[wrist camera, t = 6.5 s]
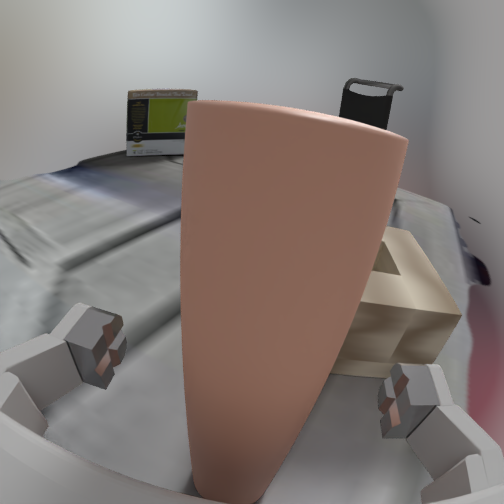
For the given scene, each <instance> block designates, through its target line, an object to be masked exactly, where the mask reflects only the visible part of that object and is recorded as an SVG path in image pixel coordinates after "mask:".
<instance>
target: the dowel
mask: <svg viewBox="0 0 504 504" xmlns="http://www.w3.org/2000/svg"><path fill="white" fill-rule="evenodd" d="M408 141H409V140H408V139H406V138H404V137H402V136H400V135H397V134H395V133H392V132H389V131H386V130H383V129H380V128H377V127H374V126H371V125H367V124H364V123H360V122H356V121H353V120H349V119H345V118H341V117H336V116H332V115H327V114H322V113H317V112H312V111H307V110H301V109H296V108H289V107H282V106H276V105H267V104H259V103H249V102H237V101H217V100H216V101H215V100H198V101H189V102H188V105H187V117H186V130H185V144H184V160H183V179H182V204H181V252H180V281H181V329H182V354H183V373H184V389H185V403H186V415H187V426H188V437H189V447H190V456H191V465H192V473H193V481H194V485H195V487H196V489H197V491H198V492H199V494H200V495H201V496H202V497H203V498H204V499H208V500H213V501H218V502H223V503H229V504H253V503H254V502H256V501H257V500H258V499H259V498H260V497H261V496H262V495H263V494H264V492H265V491H266V489H267V487H268V486H269V484H270V483H271V481H272V479H273V478H274V476H275V475H276V473H277V471H278V470H279V468H280V466H281V465H282V463H283V461H284V460H285V458H286V456H287V454H288V453H289V451H290V449H291V447H292V446H293V444H294V442H295V440H296V439H297V437H298V435H299V433H300V431H301V429H302V428H303V426H304V424H305V422H306V420H307V418H308V416H309V414H310V412H311V410H312V408H313V406H314V405H315V403H316V401H317V399H318V397H319V395H320V392H321V390H322V388H323V386H324V384H325V382H326V380H327V378H328V376H329V374H330V372H331V369H332V367H333V365H334V363H335V361H336V358H337V356H338V354H339V352H340V349H341V347H342V345H343V342H344V340H345V338H346V335H347V333H348V331H349V328H350V326H351V323H352V321H353V318H354V316H355V313H356V311H357V308H358V306H359V303H360V301H361V298H362V295H363V293H364V290H365V287H366V285H367V282H368V279H369V276H370V274H371V271H372V268H373V265H374V262H375V259H376V256H377V253H378V250H379V247H380V244H381V241H382V238H383V235H384V232H385V228H386V225H387V222H388V219H389V215H390V212H391V208H392V205H393V201H394V198H395V194H396V191H397V187H398V183H399V179H400V175H401V171H402V167H403V163H404V159H405V155H406V150H407V145H408Z"/></svg>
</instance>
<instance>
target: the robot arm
mask: <svg viewBox="0 0 504 504" xmlns="http://www.w3.org/2000/svg"><path fill="white" fill-rule="evenodd" d="M123 325H124V324H123V320H122V316H120V315H118V314H114V313H111V312H108V311H105V310H102V309H98V308H95V307H92V306H88V305H85V304H83V303H77V304H75V305H74V306H73V307H72V308H71V309H70V311H69V312H68V313H67V314H66V315H65V316H64V318H63V319H62V320H61V321H60V322H59V324H58V325H57V326H56V327H55V328H54V330H53V331H52V332H51V333H50V334H47V333H45V334H43V335H41V336H38V337H36V338H34V339H31V340H29V341H26V342H24V343H22V344H19V345H17V346H15V347H12V348H10V349H8V350H5V351H3V352H0V504H229V503H223V502H218V501H213V500H208V499H203V498H199V497H195V496H190V495H186V494H182V493H179V492H175V491H171V490H168V489H164V488H161V487H158V486H154V485H151V484H148V483H145V482H142V481H139V480H136V479H133V478H131V477H128V476H125V475H122V474H120V473H117V472H115V471H112V470H110V469H107V468H105V467H102V466H100V465H98V464H95V463H93V462H91V461H89V460H86V459H84V458H82V457H80V456H78V455H76V454H74V453H72V452H69V451H67V450H65V449H64V448H62V447H60V446H58V445H56V444H54V443H52V442H50V441H48V440H47V439H45V438H43V435H44V433H45V431H46V429H47V427H48V422H47V420H46V419H45V418H44V416H43V415H42V413H41V412H40V410H42V409H44V408H45V407H47V406H48V405H50V404H51V403H53V402H55V401H56V400H58V399H59V398H61V397H62V396H64V395H65V394H67V393H68V392H70V391H72V390H73V389H75V388H76V387H78V386H79V385H81V384H82V383H83V382H85V383H88V384H90V385H93V386H96V387H99V388H102V389H105V390H106V389H107V387H108V385H109V384H110V382H111V380H112V378H113V376H114V375H115V373H114V369H113V367H115V366H117V365H119V364H121V362H122V360H123V358H124V356H125V353H126V349H127V340H126V335H125V334H124V333H123V332H122V330H121V328H122V327H123ZM390 374H391V376H390V377H389V378H387V379H385V380H384V381H383V383H382V385H381V386H380V389H379V393H378V409H379V410H380V411H381V412H382V413H383V414H384V415H383V417H382V418H381V420H380V423H381V431H382V438H407V439H406V441H407V442H408V443H409V445H410V446H411V448H412V449H413V451H414V452H415V454H416V455H417V456H418V458H419V459H420V461H421V462H422V464H423V465H424V467H425V468H426V470H427V471H428V472H429V474H430V475H431V477H432V478H433V480H434V481H433V482H432V483H430V484H429V485H427V486H426V487H424V488H423V489H422V490H421V500H422V504H504V458H503V455H502V451H501V448H500V447H499V446H498V445H497V443H496V442H495V441H494V440H493V439H492V438H491V437H490V436H488V434H487V433H486V432H485V431H484V430H483V429H482V428H481V427H480V426H479V425H478V424H477V423H476V422H474V420H473V419H472V418H471V417H470V416H469V415H468V414H467V413H466V412H465V411H464V410H463V409H462V408H461V407H460V406H458V405H454V403H453V400H452V397H451V394H450V391H449V388H448V385H447V382H446V379H445V376H444V373H443V371H442V368H441V367H440V366H439V365H436V364H412V363H396V364H395V365H393V367H392V368H391V370H390Z"/></svg>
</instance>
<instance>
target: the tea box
mask: <svg viewBox="0 0 504 504" xmlns="http://www.w3.org/2000/svg"><path fill="white" fill-rule="evenodd" d="M197 93H198V91H196V90H190V89H144V90H143V89H142V90H131V91H128V102H127V134H126V136H127V139H126V141H127V156H146V155H177V154H184V144H185V130H186V117H187V105H188V102H189V101H197Z"/></svg>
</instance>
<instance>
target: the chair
mask: <svg viewBox="0 0 504 504" xmlns="http://www.w3.org/2000/svg"><path fill="white" fill-rule="evenodd" d="M353 83H358V84H362V85H369V86H375V87H381V88H387V89H389V90H388V92H387V95H386V96H365V95H361V94H357V93H355V92H352V91H350V90H349V88H350V85H351V84H353ZM396 90H398V91H402V90H403V86H402V85H399V84H389V83H382V82H376V81H368V80H361V79H357V78H351V79H349V80H348V81H347V82H346V83H345V86H344V88H343V94H342V101H341V107H340V114H339V117H341V118H345V119H349V120H353V121H356V122H360V123H364V124H367V125H371V126H374V127H377V128H380V129H383V130H386V129H387V124H388V119H389V114H390V109H391V103H392V98H393V93H394V91H396Z"/></svg>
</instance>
